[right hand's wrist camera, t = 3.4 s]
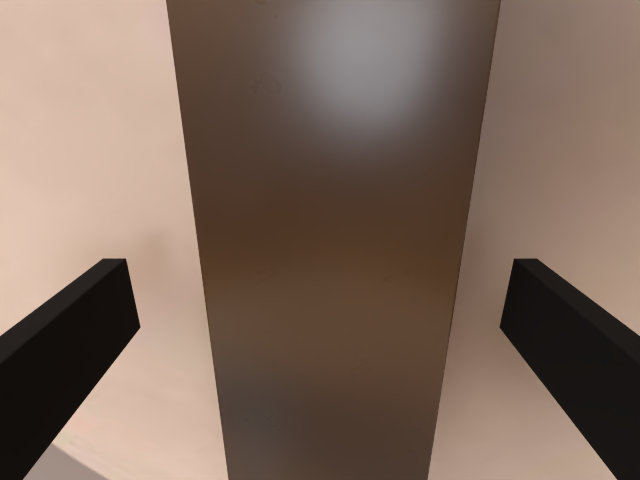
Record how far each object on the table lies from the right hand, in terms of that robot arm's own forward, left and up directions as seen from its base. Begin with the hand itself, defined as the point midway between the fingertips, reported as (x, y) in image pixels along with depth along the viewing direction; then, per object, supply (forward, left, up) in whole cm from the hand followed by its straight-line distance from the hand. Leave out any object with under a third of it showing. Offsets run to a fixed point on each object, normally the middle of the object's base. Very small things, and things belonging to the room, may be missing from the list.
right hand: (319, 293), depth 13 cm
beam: (+19, -9, -4) cm, 21 cm away
